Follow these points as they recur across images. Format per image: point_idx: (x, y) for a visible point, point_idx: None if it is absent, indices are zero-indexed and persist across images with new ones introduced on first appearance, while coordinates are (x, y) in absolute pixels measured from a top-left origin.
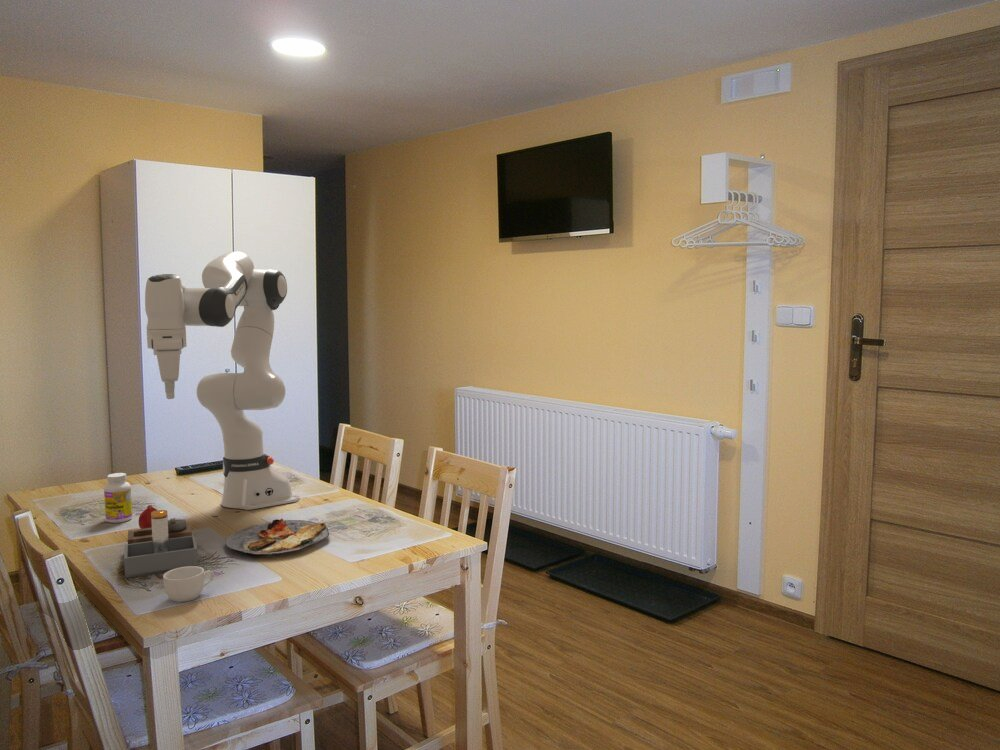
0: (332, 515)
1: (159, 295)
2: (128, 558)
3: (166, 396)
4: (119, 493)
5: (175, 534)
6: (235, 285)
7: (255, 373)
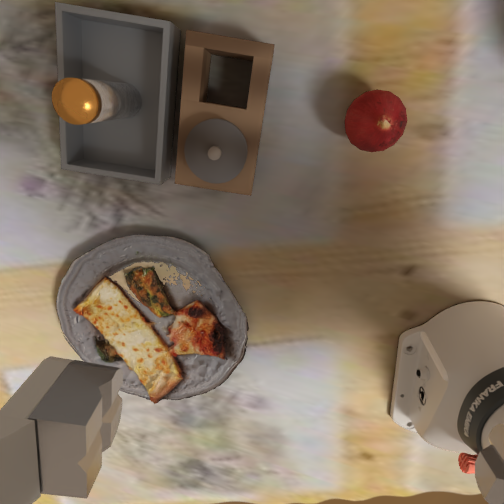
0: (260, 431)
1: None
2: (55, 13)
3: (37, 369)
4: None
5: (177, 147)
6: None
7: None
